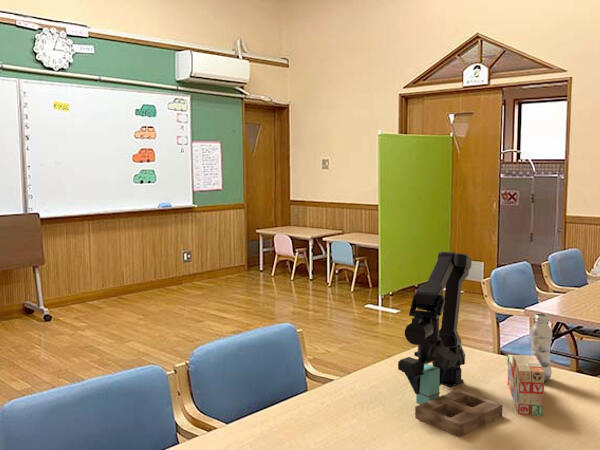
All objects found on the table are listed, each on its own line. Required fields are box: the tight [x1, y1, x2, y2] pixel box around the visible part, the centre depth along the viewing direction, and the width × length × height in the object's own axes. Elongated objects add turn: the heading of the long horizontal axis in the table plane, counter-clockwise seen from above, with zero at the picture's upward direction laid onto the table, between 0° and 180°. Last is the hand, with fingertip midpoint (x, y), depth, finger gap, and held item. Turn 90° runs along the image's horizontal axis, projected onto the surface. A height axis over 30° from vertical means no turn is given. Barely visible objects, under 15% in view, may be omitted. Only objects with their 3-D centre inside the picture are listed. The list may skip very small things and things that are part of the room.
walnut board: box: [414, 389, 503, 438], centre depth 152 cm, size 14×18×3 cm
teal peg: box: [415, 363, 441, 405], centre depth 161 cm, size 4×4×10 cm
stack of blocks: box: [507, 354, 545, 417], centre depth 163 cm, size 21×6×12 cm, turn 168°
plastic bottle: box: [529, 313, 553, 382], centre depth 176 cm, size 6×7×20 cm
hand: (428, 389), depth 161 cm, fingers open, 9 cm apart
